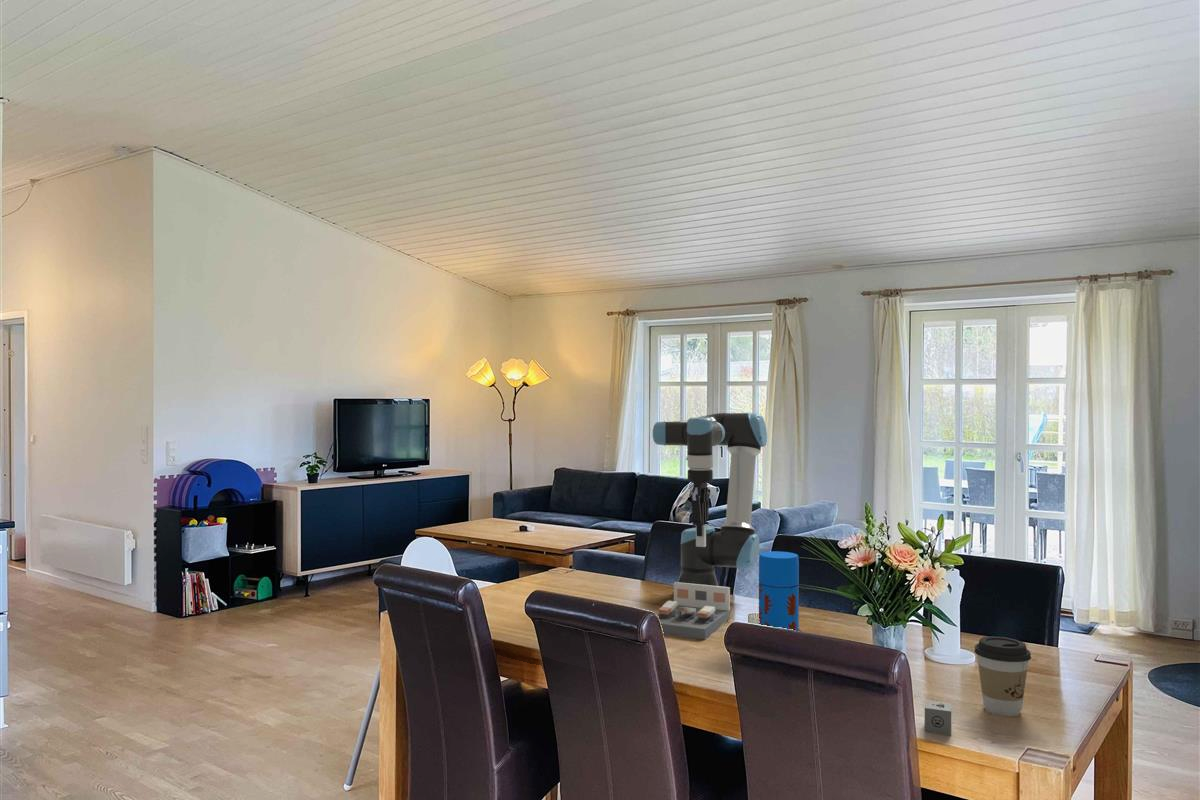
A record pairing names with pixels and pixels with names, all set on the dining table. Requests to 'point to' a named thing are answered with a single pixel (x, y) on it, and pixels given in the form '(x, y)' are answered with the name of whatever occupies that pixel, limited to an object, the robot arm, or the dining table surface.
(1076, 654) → the dining table surface
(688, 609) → the switch
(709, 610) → the switch
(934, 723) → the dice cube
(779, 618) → the thermos
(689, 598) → the switch unit
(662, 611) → the switch
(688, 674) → the dining table surface
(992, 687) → the coffee cup
